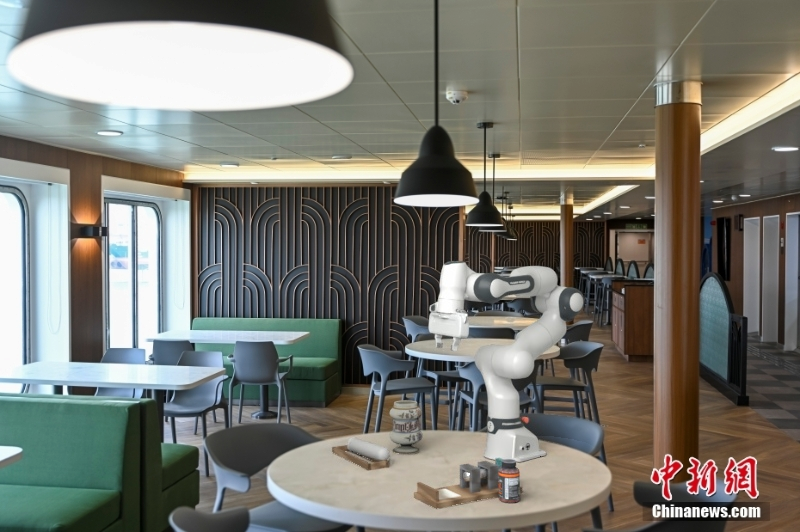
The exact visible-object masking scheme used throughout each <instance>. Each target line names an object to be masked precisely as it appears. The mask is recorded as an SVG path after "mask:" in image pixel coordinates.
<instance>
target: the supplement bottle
mask: <svg viewBox="0 0 800 532" xmlns="http://www.w3.org/2000/svg"><path fill="white" fill-rule="evenodd" d="M520 472H521V471H520V469H519V468H518V467H517V462H516V461H515V460H512V459H505V460H502V467H501V468H500V469H499V497H498V500H499V501H500V502H502V503H505V502H508V504H515V502H516V503H518V502H520V500H521V499H520V498H521V497H520V496H521V493H520V487H521V486H520V485H521V483H520V481H521V479H520V477H521V476H520V474H521V473H520Z"/></svg>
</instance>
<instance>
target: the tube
mask: <svg viewBox="0 0 800 532" xmlns="http://www.w3.org/2000/svg"><path fill="white" fill-rule="evenodd" d="M346 445H347V449H348V450H350V451H349V452H351V451H353V452H352V453H354V452H356V453H358V454H361V455H364V456H367V457H369V458H372V459H375V460H378V461H385V460H388V461H389V458H390V457H391V455H390V450H389V448H387V447H385V446H382V445H379V444H376V443H372V442H370V441H366V440H363V439H360V438H357V437H355V436H353V437H349V440H347V444H346ZM356 453H355V454H356ZM358 454H357V455H358Z"/></svg>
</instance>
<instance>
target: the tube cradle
mask: <svg viewBox="0 0 800 532" xmlns="http://www.w3.org/2000/svg"><path fill="white" fill-rule="evenodd" d="M345 451H347V452H345ZM332 452H333V453H332ZM349 452H350V451H349V450H348V449H347V444H346V445H345V444H344V445H338V446H337V445H336V446H331V453H332V454H334V453H335V454H334V455H336V454H337V455H336V456H338V455H339V456H338V457H340V456H341V457H340V458H342V457H343V459H344V458H345V459H344V460H346V459H347V460H346V461H348V460H349V461H348V462H350V461H351V462H350V463H352V462H353V463H352V464H354V463H355V464H354V465H356V464H357V465H356V466H358V465H359V466H358V467H360V466H361V467H360V468H362V469H364V470H366V471H372V470H378V469H379V470H380V469H385V468H386V469H387V468H389V467H390V460H389V459H388V460H385V461H378V460H375V459H372V458H369V457H367V456H364V455H362V456H364V457H366V458H365V459H367V458H368V459H367V460H369V459H370V460H369V461H371V460H372V461H371V462H368V461H366V460H364V459H361V457H362V456H361V457H360V458H359V457H358V456H356V455H353V454H351V453H349ZM354 454H356V452H355V453H354ZM360 455H361V454H360ZM360 455H359V456H360ZM364 457H363V458H364Z"/></svg>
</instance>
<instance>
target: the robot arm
mask: <svg viewBox="0 0 800 532" xmlns="http://www.w3.org/2000/svg"><path fill="white" fill-rule="evenodd" d="M507 296H516V297H522V298H529V299H530V301H529V302H530V305H531V306H530V307H531V309H532V311H533V310H534V312H536V313H538V314H541V316H540V318H539V319H537V320H535V321H534V322H532V323H531V324H529V325H528V326H526V327H524V328H523V329H521V330H520V331H519V332H517V334H516V335H515V341H514V342H513V343H511V344H507V345H499V344H494V343H493V344H486V345H483V346H480V347H479V348H477V350H476V352H475V354H474V364H475V367H476V368H477V369H478V371H479V372H480V374H481V375H482V378H483V381H484V385H485V388H486V394H487V395H486V396H487V415H486V430H487V433H486V434H487V435H486V441H485V442H486V443H485V448H484V452H483V457H485V459H488V460H489V459H490V460H495V458H502V459H512V460H515V461H516V463H517V462H518V463H519V462H520V463H521V462H525V461H529V460H533V459H536V458H540V456H541V457H543V456H547V453H546V451H545V450H544V449H541V448H540V442H539V439H538V436H536V435H535V434H534V433H533V432H532V431H530V430H529V429H528V428H526V427H525V425H524V423H525V424H528V423H529V422H530V420H529V417H528V416H527V417H526V416H521V415H520V393H519V391H518V390H517V389H516V388H515V386H514V385H513V381H512V379H513V380H518V379H526V378H528V377H529V376H530V375H531V374H532V373H533V371H534V368H535V361H536V359H537V358H538V357H539V356H541V355H542V354H544V353H545V352H547V351H548V350H550V349H552V347H554V346H555V345H556V344H557V343H559V341H560V340H561V339H563V337H564V336H565V335H566V333H567V323H566V322H568V323H569V322H572V321H574V319H575V318H576V317H577V316H578V315H579V314H580V313H581V311H582V310H583V308H584V304H585V297H584V294H583V292H582V291H581V290H579V289H578V288H575V287H572V286H568V287H566V286H561V285H558V274H557V273H556V271H554V269H553V268H551V267H547V266H541V265H530V266H529V265H528V266H521V267H517V268H515V269H512V271H511V272H510V275H509V276H502V275H500V274H497V273H495V272H488V273H487V272H485V273H482V272H481V273H480V272H476V271H475V270H472V269H471V268H470V267H469V266H468V265H467V263H466V262H465V261H464V260H456V261H455V260H451V261H447V262H445V263H444V264H443V265H442V269H441V272H440V279H439V294H438V299H437V301H436V302H435V303H433V304H431V305H429V312H430V313H429V316H428V317H429V319H428V331H429V333H430V334H433V335H434V340H435V348H438V349H443V345H444V344H443V341H442V338H443V336H447V337H451V338H452V337H453V338H452V341H453V342H452V344H451V345H450V351H453V352H457V351H458V348H459V345H460V343H461V339H467V338H468V337H469V333H470V319H469V317H468V316H469V315H468V312H467V310H465V309H464V308H465V301H471V302H483V303H488V304H495V303H498V302H499V301H501V300H502V299H504V298H505V297H507Z"/></svg>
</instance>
